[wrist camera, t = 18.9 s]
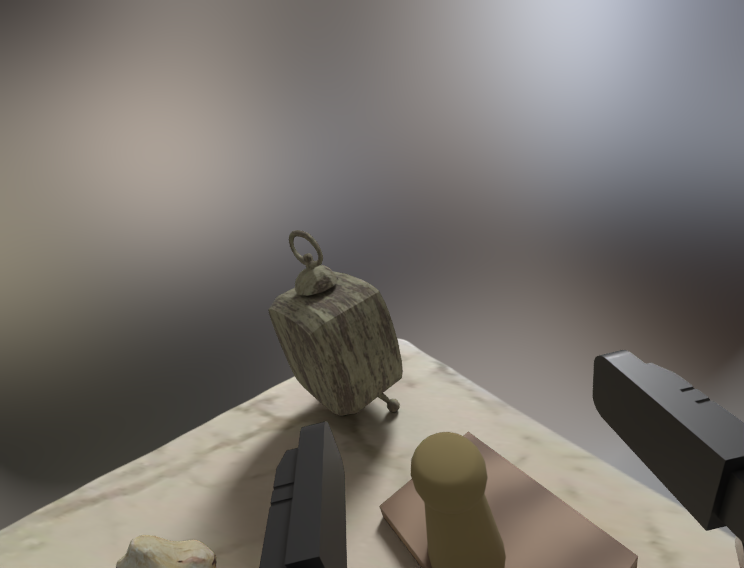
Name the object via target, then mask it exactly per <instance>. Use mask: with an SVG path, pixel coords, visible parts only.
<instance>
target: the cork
mask: <svg viewBox="0 0 744 568" xmlns="http://www.w3.org/2000/svg"><path fill="white" fill-rule="evenodd" d="M411 477H412V480H413V484H414V487H415V490H416V492H417V493H418V494H419V496H420V497H421V498H422V500H423V501H424V504H425V517H426V531H427V544H428V556H429V559H430V563H431V566H432V568H505V560H506V554H505V549H504V543H503V541H502V538H501V535H500V533H499V530H498V527H497V525H496V522H495V519H494V517H493V514H492V511H491V509H490V506H489V504H488V501H487V498H486V496H485V489H486V483H487V478H488V477H487V470H486V464H485V460H484V458H483V457H482V455H481V453H480V451H479V449H478V448H477V446H475V445H474V444H473V443H472V442H471V441H470V440H469V439H467V438H465V437H463V436H461V435H459V434H456V433H451V432H442V433H437V434H434V435H431V436H429V437H427V438H426V439H424V440H423V441H422V442H421V443H420V445H419V446H418V447H417V448H416V450H415V452H414V455H413V457H412V460H411Z"/></svg>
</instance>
